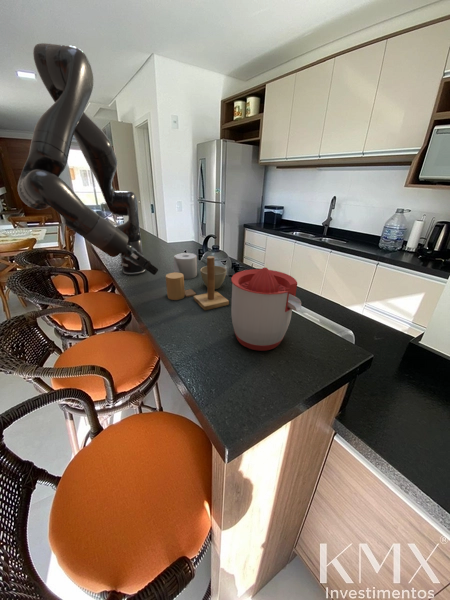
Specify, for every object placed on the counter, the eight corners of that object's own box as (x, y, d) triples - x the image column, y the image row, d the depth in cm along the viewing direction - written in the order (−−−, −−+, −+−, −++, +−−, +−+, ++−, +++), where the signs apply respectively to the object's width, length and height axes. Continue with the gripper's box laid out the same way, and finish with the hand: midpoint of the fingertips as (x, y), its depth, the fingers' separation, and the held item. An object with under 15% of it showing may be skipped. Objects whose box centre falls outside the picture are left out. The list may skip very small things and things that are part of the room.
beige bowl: (196, 289, 95) (195, 271, 92) (207, 280, 103) (207, 264, 100) (220, 293, 92) (220, 275, 89) (229, 284, 100) (230, 267, 97)
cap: (170, 301, 86) (169, 279, 82) (165, 294, 90) (163, 273, 87) (197, 295, 90) (196, 274, 86) (190, 289, 95) (190, 269, 91)
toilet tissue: (170, 281, 101) (169, 261, 98) (178, 271, 113) (177, 252, 110) (192, 282, 101) (191, 262, 97) (198, 271, 113) (197, 253, 109)
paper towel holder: (193, 299, 87) (192, 255, 80) (216, 294, 91) (216, 252, 84) (204, 310, 80) (203, 262, 73) (228, 304, 84) (230, 259, 77)
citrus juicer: (281, 368, 56) (294, 287, 47) (217, 343, 64) (218, 270, 55) (302, 335, 68) (315, 266, 59) (246, 317, 76) (250, 254, 67)
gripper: (123, 229, 63) (167, 264, 74) (106, 222, 73) (147, 254, 84) (105, 253, 62) (153, 285, 74) (90, 242, 72) (134, 272, 84)
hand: (150, 268), depth 79 cm, fingers open, 8 cm apart
